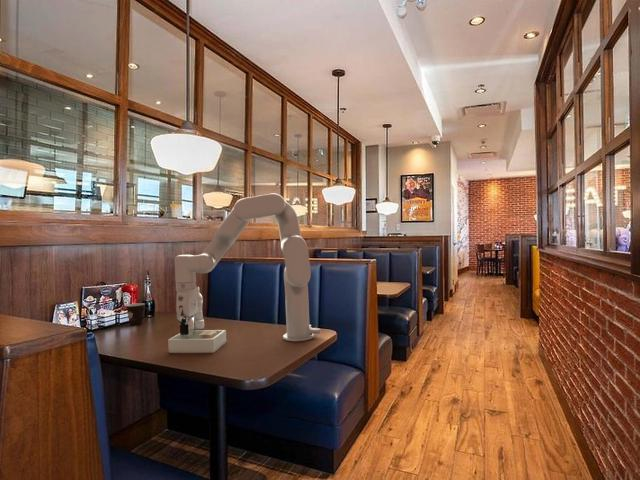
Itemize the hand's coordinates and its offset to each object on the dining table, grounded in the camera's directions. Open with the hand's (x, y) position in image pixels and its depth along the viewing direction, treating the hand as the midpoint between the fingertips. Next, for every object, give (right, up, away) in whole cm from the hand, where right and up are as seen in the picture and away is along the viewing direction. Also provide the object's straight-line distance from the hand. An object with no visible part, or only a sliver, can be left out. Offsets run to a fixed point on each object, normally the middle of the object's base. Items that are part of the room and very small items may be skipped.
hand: (187, 332), depth 153 cm
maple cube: (+8, -5, -1) cm, 10 cm away
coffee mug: (-41, -7, +45) cm, 61 cm away
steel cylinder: (0, -1, 0) cm, 1 cm away
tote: (+4, -6, 0) cm, 7 cm away
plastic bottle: (-5, -6, +28) cm, 29 cm away
